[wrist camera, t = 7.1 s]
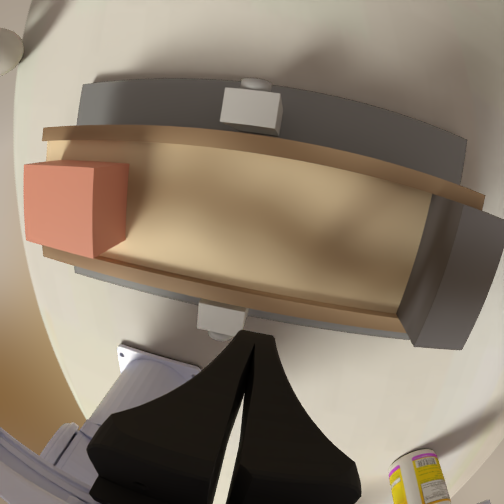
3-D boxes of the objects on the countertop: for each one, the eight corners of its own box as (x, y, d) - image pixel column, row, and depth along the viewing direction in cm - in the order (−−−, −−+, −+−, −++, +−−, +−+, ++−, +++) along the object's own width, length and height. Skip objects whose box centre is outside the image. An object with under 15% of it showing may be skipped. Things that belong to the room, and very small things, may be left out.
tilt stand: (405, 333, 20) (430, 380, 15) (81, 268, 22) (37, 297, 17) (459, 140, 15) (510, 140, 10) (90, 86, 17) (39, 75, 12)
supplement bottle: (396, 477, 27) (407, 551, 15) (380, 464, 26) (391, 549, 14) (439, 456, 25) (459, 530, 13) (429, 440, 24) (453, 525, 12)
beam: (428, 322, 15) (454, 363, 11) (57, 249, 17) (17, 270, 13) (470, 191, 12) (514, 204, 8) (59, 127, 14) (13, 128, 10)
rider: (125, 240, 15) (93, 258, 12) (59, 226, 15) (26, 240, 12) (129, 163, 13) (93, 167, 10) (60, 159, 14) (24, 164, 11)
